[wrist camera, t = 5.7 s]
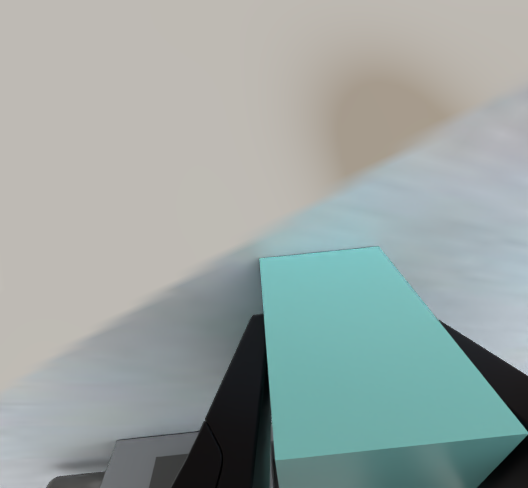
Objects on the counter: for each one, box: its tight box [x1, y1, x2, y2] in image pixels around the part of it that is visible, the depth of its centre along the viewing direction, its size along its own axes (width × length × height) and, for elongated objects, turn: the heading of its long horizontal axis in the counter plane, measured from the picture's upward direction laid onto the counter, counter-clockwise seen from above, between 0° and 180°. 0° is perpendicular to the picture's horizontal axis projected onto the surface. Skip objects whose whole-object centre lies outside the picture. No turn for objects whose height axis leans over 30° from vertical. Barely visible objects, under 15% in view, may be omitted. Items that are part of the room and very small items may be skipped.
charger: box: [259, 246, 528, 488], centre depth 8 cm, size 4×7×6 cm, turn 4°
